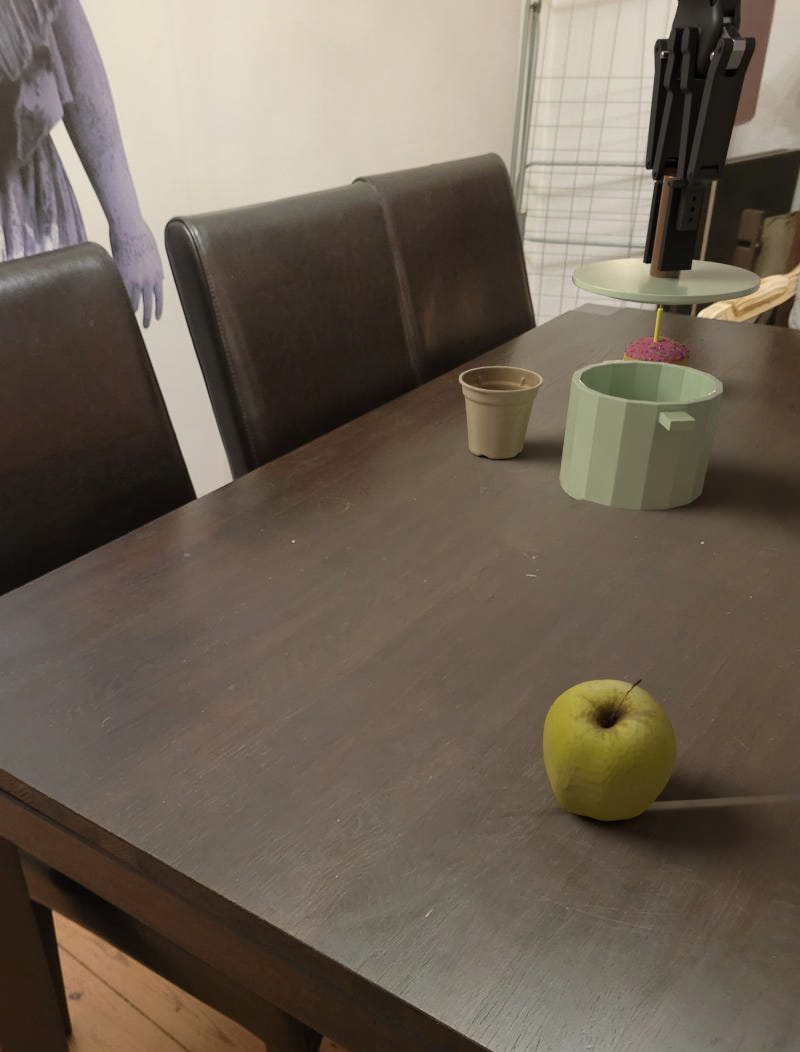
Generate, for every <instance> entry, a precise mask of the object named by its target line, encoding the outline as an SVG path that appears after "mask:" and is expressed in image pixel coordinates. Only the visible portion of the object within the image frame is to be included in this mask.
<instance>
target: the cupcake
mask: <svg viewBox="0 0 800 1052" xmlns="http://www.w3.org/2000/svg"><path fill="white" fill-rule="evenodd" d="M662 306H663V305H661V304H659V308H657V313H656V321H655V329H654V334H653V335H654V336H653V335H650V336H649V337H648V336H647V337H642V338H638V339H637V340H635V341H633V342H631V343H630V344H629V345H628V346H627V347H625V349H624V354H623V357H622V358H623V359H622V360H625V361H636V360H637V361H650V362H663V363H669V364H675V365H680V366H686V367H689V364H690V356H691V355H690V354H689V353H690V351H689V350H687V349H688V348H687V347H686V346H685V345H683V344H681V343H680V342H678V341H677V340H675V339H674V338H671V337H668V336H663V335H661V328H662V321H663V314H664V308H663V307H662Z"/></svg>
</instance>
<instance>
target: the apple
mask: <svg viewBox="0 0 800 1052" xmlns="http://www.w3.org/2000/svg"><path fill="white" fill-rule="evenodd" d="M642 681H643V678H642V679H641V678H640V679H638V680H637V681H636V682H634V683H630V682H628V681H623V680H617V679H607V678H606V679H594V680H588V681H583V682H581V683H578V684H575V685H574V686H572V687H570V688H568V689H567V690H565V691H564V692H563V693H561V695H559V696H558V697H557V698H556V699H555V700H554V702H553V703H552V705H551V706H550V708H549V709H548V712H547V715H546V718H545V721H544V725H543V736H542V752H543V762H544V766H545V771H546V774H547V776H548V779H549V783H550V786H551V789H552V792H553V794H554V797H555V798H556V801H557V802H558V804H559V805H560V806H561V807H562V808H563V809H565V810H566V811H567V812H570V813H572V814H574V815H578V816H584V817H589V818H592V819H595V820H597V821H604V822H612V821H622V820H631V819H633V818H637V817H638V816H640V815H641V814H642V813H644V812H645V811H647V810H648V809H649V808H650V806H652V804H653V803H654V802H655V801H656V800H657V798H658V796H660V794H661V793H662V792H663V791H664V789H665V788H666V786H667V784H668V782H669V780H670V779H671V777H672V774H673V771H674V767H675V762H676V759H677V742H676V741H677V740H676V735H675V729H674V727H673V724H672V722H671V720H670V717H669V716H668V714H667V713H666V711H665V709H664V708H663V707H662V705H661V704H660V703H659V702H658V700H656V699H655V697H654V696H653V695H651V693H649V692H648V691H646V690H645V689H643V688H641V687H639V686H637V685H639V684H640V683H642Z"/></svg>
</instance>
